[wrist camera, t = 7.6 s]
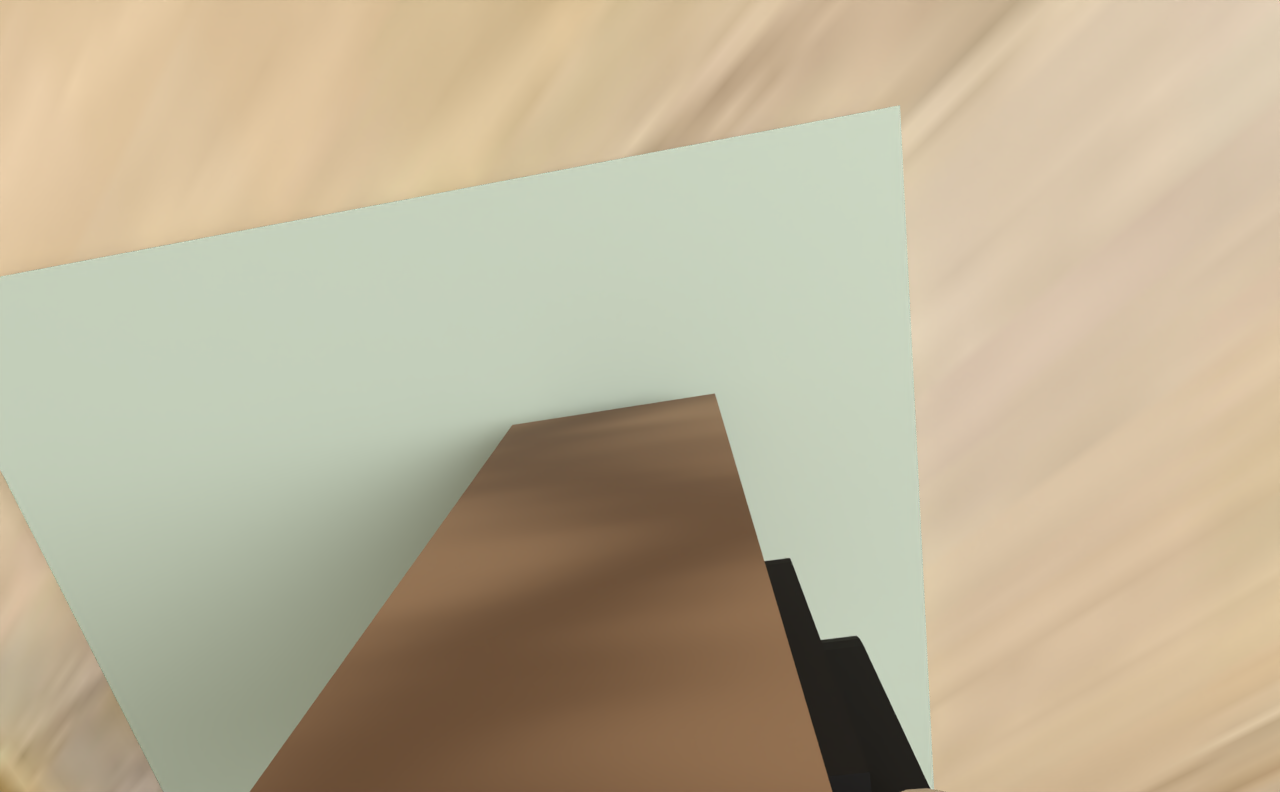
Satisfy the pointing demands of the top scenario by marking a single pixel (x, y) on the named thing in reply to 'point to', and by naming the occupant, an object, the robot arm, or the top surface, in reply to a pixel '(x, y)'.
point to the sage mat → (456, 409)
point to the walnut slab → (575, 632)
